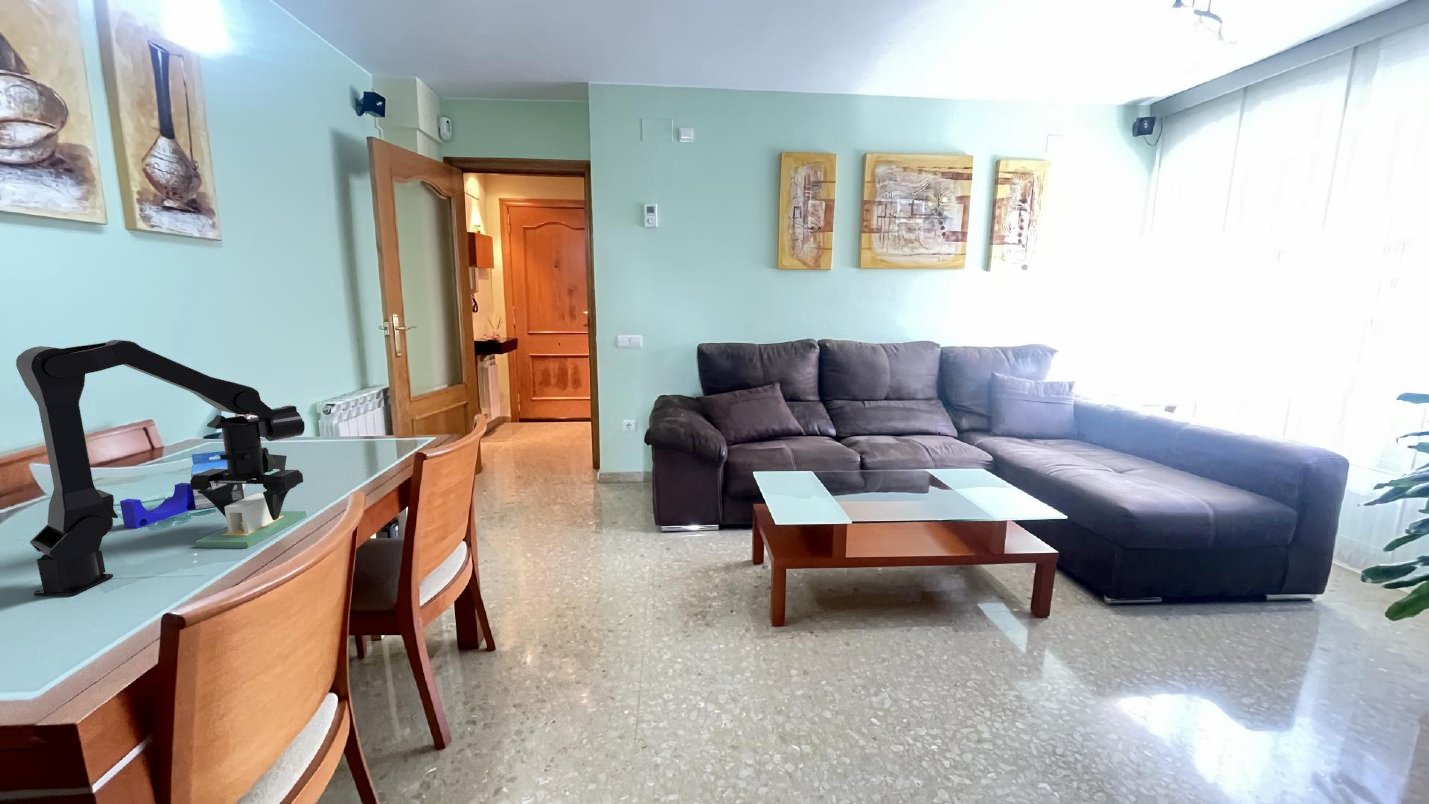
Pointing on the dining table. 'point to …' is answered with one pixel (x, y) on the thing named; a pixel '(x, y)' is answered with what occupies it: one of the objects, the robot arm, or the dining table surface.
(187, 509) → the blue cradle block
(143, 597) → the dining table surface
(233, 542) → the board
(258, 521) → the box
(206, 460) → the label tape box
